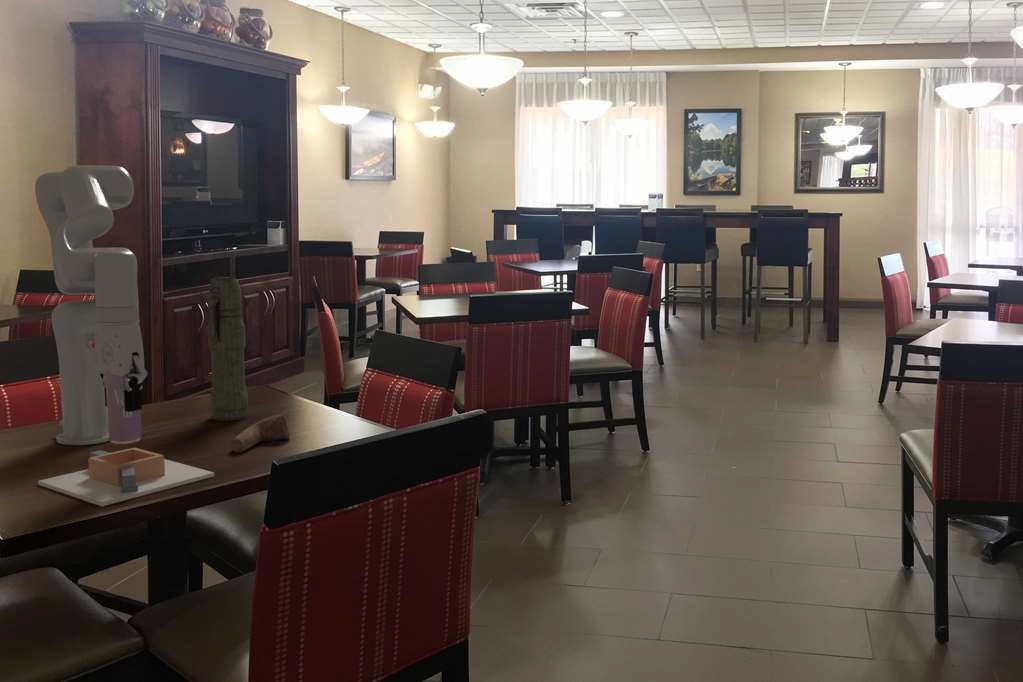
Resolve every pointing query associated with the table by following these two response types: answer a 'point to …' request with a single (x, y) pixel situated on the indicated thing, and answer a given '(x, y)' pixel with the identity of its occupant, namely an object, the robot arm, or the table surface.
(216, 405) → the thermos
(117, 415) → the beverage can
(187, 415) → the table surface
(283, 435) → the pipe
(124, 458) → the white board with box
